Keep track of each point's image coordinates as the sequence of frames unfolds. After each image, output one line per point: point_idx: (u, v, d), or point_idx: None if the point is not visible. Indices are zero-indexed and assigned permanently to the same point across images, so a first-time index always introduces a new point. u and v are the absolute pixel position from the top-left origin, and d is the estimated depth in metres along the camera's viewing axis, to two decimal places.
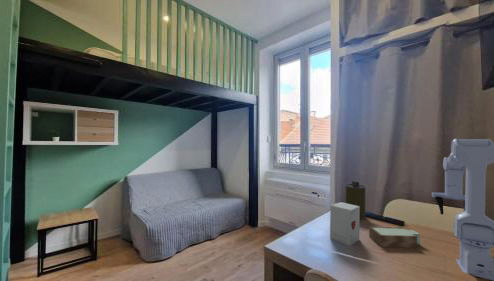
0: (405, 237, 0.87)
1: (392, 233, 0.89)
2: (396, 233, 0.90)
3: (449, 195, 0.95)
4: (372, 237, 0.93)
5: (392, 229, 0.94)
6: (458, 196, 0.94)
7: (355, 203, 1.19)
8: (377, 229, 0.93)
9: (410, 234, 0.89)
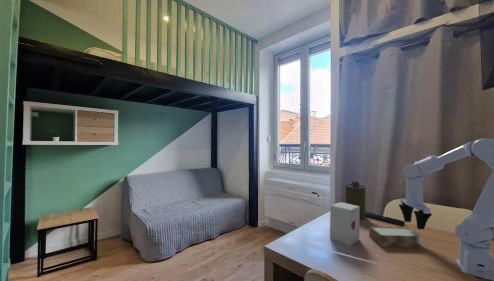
0: (405, 237, 0.87)
1: (392, 233, 0.89)
2: (396, 233, 0.90)
3: (405, 202, 0.93)
4: (372, 237, 0.93)
5: (392, 229, 0.94)
6: (409, 203, 0.90)
7: (355, 203, 1.19)
8: (377, 229, 0.93)
9: (410, 234, 0.89)
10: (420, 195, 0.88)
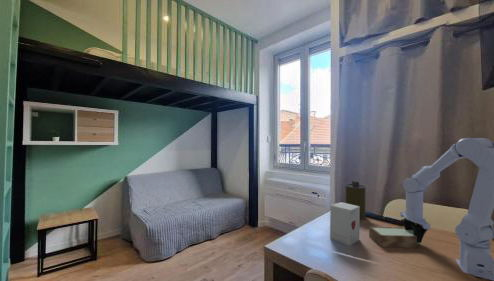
0: (405, 237, 0.87)
1: (392, 233, 0.89)
2: (396, 233, 0.90)
3: (405, 216, 0.93)
4: (372, 237, 0.93)
5: (392, 229, 0.94)
6: (409, 218, 0.90)
7: (355, 203, 1.19)
8: (377, 229, 0.93)
9: (410, 234, 0.89)
10: (420, 210, 0.88)
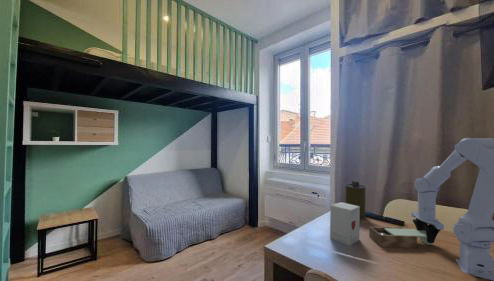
0: (405, 237, 0.87)
1: (404, 233, 0.89)
2: (408, 233, 0.89)
3: (417, 216, 0.93)
4: (372, 237, 0.93)
5: (404, 229, 0.93)
6: (421, 218, 0.90)
7: (355, 203, 1.19)
8: (389, 229, 0.93)
9: (422, 234, 0.88)
10: (433, 210, 0.88)
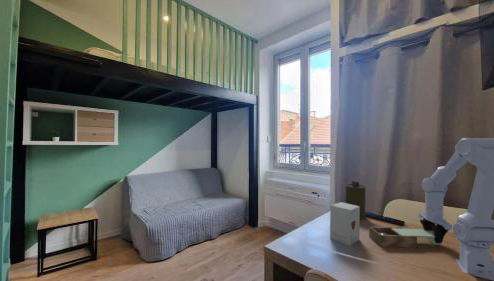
0: (405, 237, 0.87)
1: (412, 234, 0.89)
2: (416, 234, 0.89)
3: (424, 216, 0.92)
4: (372, 237, 0.93)
5: (411, 229, 0.93)
6: (429, 218, 0.90)
7: (355, 203, 1.19)
8: (396, 230, 0.93)
9: (430, 235, 0.88)
10: (440, 210, 0.88)
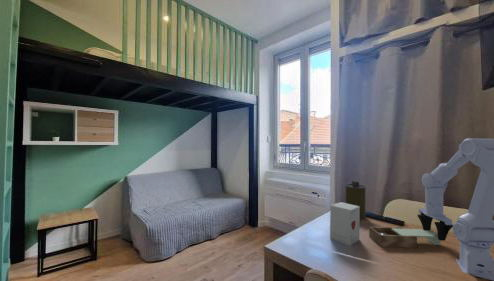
0: (405, 237, 0.87)
1: (412, 234, 0.89)
2: (416, 234, 0.89)
3: (424, 212, 0.92)
4: (372, 237, 0.93)
5: (411, 229, 0.93)
6: (429, 214, 0.90)
7: (355, 203, 1.19)
8: (396, 230, 0.93)
9: (430, 235, 0.88)
10: (440, 206, 0.88)
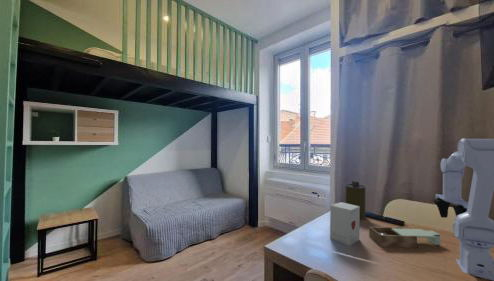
0: (405, 237, 0.87)
1: (412, 234, 0.89)
2: (416, 234, 0.89)
3: (442, 197, 0.93)
4: (372, 237, 0.93)
5: (411, 229, 0.93)
6: (447, 199, 0.90)
7: (355, 203, 1.19)
8: (396, 230, 0.93)
9: (430, 235, 0.88)
10: (459, 190, 0.88)
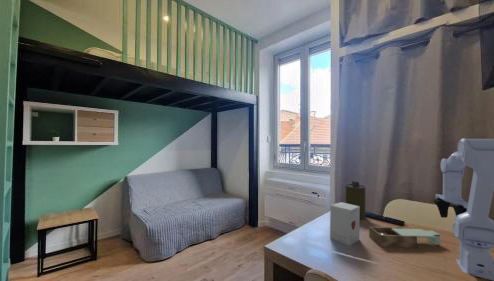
0: (405, 237, 0.87)
1: (412, 234, 0.89)
2: (416, 234, 0.89)
3: (442, 197, 0.93)
4: (372, 237, 0.93)
5: (411, 229, 0.93)
6: (447, 199, 0.90)
7: (355, 203, 1.19)
8: (396, 230, 0.93)
9: (430, 235, 0.88)
10: (459, 190, 0.88)
